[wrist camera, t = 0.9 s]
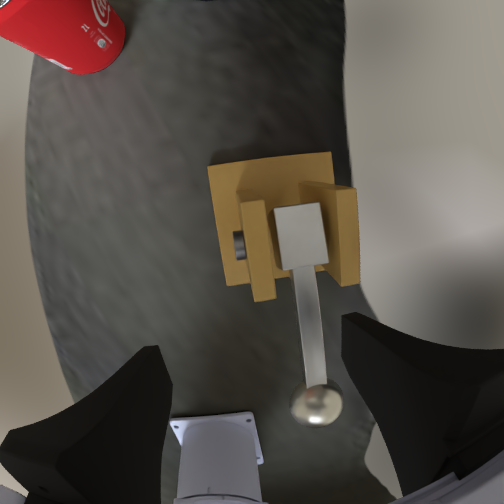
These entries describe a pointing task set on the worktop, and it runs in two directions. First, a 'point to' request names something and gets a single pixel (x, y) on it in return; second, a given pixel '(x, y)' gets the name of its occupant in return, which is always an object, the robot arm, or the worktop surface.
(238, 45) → the worktop surface
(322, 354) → the tap lever
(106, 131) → the worktop surface
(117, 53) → the beverage can
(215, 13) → the worktop surface
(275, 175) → the bracket
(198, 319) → the worktop surface
